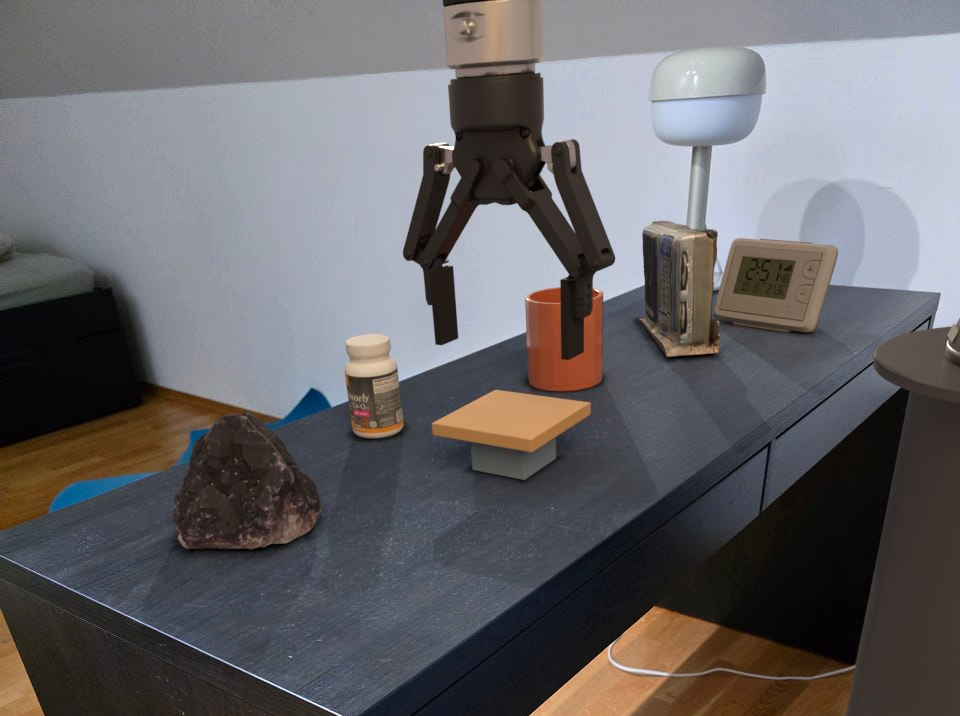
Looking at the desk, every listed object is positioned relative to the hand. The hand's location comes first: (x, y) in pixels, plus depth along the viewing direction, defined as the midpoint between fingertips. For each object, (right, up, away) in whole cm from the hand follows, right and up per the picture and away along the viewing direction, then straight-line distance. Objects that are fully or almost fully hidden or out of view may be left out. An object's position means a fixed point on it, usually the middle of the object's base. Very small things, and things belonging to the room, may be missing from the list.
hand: (507, 348), depth 80 cm
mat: (+1, -6, +4) cm, 7 cm away
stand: (+1, -9, +6) cm, 11 cm away
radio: (+24, +15, +41) cm, 50 cm away
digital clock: (+38, +18, +43) cm, 60 cm away
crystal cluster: (-23, -16, -2) cm, 28 cm away
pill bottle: (-14, -4, +17) cm, 22 cm away
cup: (+8, +5, +28) cm, 30 cm away
